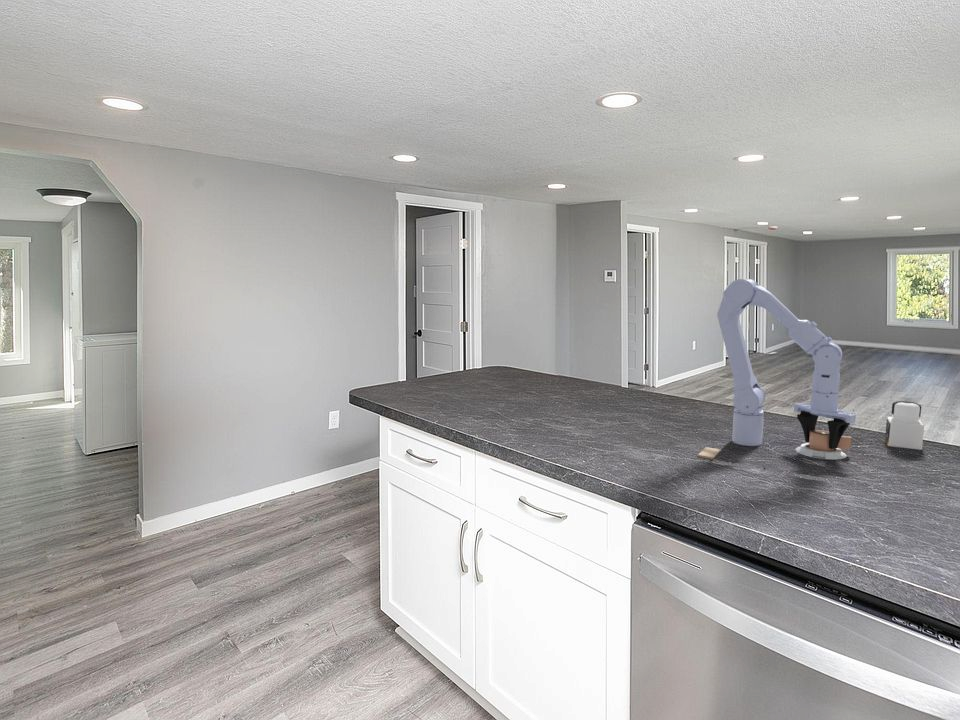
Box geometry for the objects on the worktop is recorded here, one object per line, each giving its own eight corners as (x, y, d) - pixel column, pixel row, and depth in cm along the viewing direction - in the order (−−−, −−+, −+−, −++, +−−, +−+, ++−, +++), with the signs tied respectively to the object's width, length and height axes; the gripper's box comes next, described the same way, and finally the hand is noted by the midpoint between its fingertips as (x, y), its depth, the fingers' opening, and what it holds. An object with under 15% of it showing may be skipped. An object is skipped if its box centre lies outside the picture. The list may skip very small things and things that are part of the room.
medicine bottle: (884, 441, 153) (888, 398, 151) (917, 445, 149) (922, 401, 148) (887, 448, 147) (891, 403, 145) (921, 452, 143) (926, 406, 142)
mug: (808, 453, 141) (810, 433, 140) (807, 447, 146) (809, 428, 145) (850, 458, 137) (852, 438, 136) (848, 452, 142) (849, 432, 141)
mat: (705, 448, 148) (705, 447, 148) (738, 454, 144) (738, 452, 143) (697, 456, 142) (697, 454, 142) (731, 462, 137) (732, 460, 137)
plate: (797, 446, 149) (798, 439, 149) (847, 453, 143) (848, 445, 143) (792, 457, 141) (793, 449, 140) (844, 465, 134) (845, 457, 134)
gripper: (787, 388, 144) (783, 439, 146) (843, 398, 131) (839, 455, 133) (805, 385, 147) (802, 436, 149) (863, 395, 134) (858, 451, 136)
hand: (821, 445), depth 141 cm, fingers closed on mug, 6 cm apart
